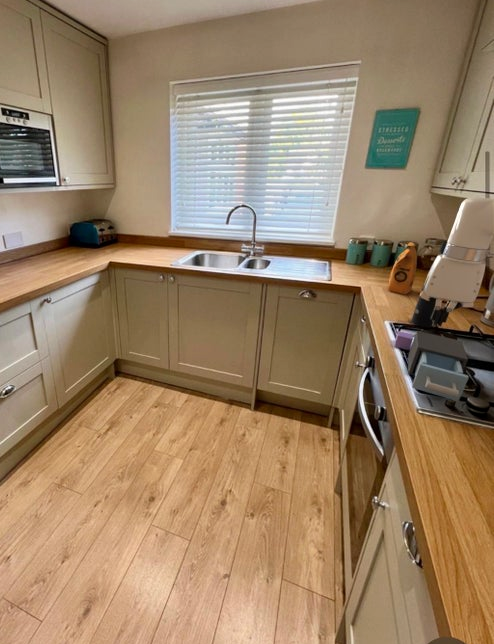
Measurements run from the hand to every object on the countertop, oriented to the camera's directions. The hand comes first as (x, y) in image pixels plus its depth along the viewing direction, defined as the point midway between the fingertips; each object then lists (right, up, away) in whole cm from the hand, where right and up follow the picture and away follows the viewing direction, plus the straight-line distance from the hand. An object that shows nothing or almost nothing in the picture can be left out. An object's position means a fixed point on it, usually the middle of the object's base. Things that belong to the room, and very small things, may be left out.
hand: (436, 323), depth 84 cm
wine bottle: (+23, -3, +38) cm, 44 cm away
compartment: (+5, -14, +9) cm, 17 cm away
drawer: (-1, -17, -1) cm, 17 cm away
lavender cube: (+5, -8, +21) cm, 24 cm away
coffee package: (+38, +12, +73) cm, 83 cm away
